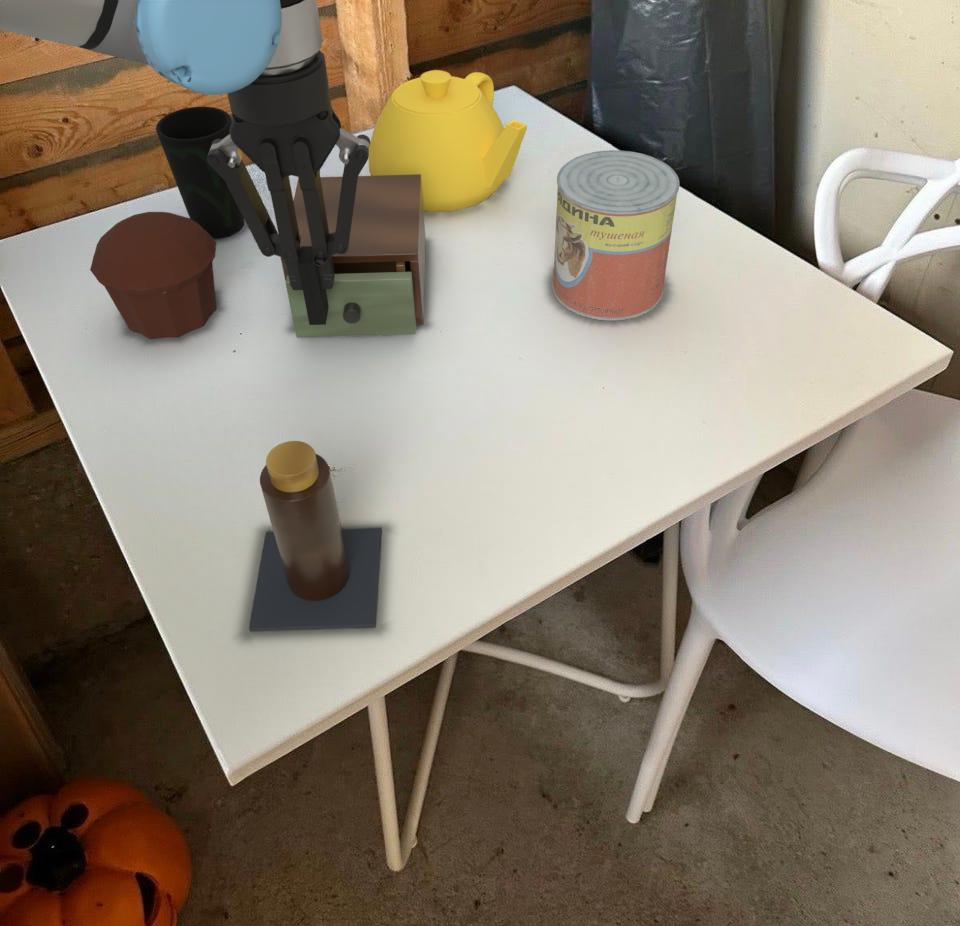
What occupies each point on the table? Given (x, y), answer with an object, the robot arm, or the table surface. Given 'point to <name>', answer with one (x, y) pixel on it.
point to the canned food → (613, 233)
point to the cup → (200, 167)
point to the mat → (341, 611)
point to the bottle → (305, 520)
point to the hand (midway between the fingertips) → (319, 315)
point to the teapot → (446, 139)
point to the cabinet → (377, 224)
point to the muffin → (158, 273)
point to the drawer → (361, 302)
